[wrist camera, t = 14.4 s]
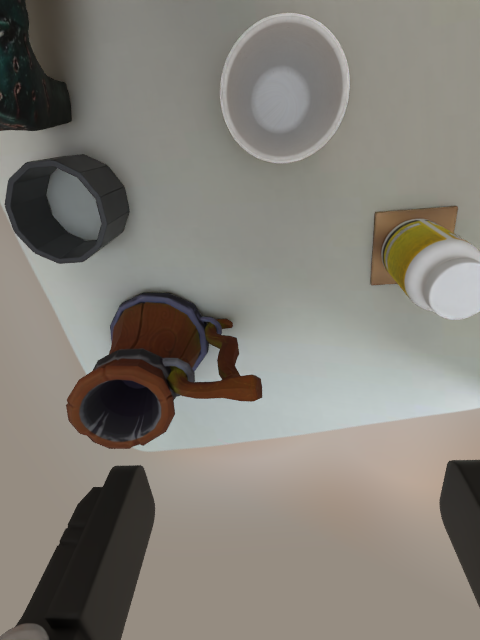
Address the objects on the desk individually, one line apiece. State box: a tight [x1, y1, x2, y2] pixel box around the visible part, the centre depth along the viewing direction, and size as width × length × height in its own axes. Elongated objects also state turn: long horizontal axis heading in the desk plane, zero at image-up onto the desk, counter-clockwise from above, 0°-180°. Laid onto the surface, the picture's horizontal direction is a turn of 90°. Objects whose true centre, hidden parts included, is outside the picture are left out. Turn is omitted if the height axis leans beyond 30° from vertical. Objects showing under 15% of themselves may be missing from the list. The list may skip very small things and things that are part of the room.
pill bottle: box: [381, 219, 480, 320], centre depth 33 cm, size 6×6×11 cm
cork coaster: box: [370, 206, 458, 285], centre depth 38 cm, size 8×8×1 cm
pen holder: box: [5, 154, 129, 264], centre depth 36 cm, size 9×9×6 cm
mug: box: [66, 293, 262, 449], centre depth 38 cm, size 18×12×15 cm, turn 103°
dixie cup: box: [220, 13, 350, 163], centre depth 29 cm, size 8×8×10 cm
